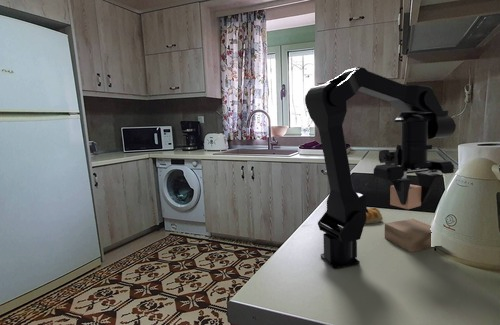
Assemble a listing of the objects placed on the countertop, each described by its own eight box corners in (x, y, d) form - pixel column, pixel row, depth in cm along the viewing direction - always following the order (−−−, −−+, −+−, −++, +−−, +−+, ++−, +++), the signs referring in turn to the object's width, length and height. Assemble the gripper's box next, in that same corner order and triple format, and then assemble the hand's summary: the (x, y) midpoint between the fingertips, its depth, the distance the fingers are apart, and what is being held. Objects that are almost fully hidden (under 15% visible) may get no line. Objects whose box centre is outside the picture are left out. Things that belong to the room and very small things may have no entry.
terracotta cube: (408, 209, 72) (408, 189, 71) (390, 204, 76) (390, 185, 75) (420, 205, 74) (421, 186, 73) (402, 201, 78) (403, 183, 78)
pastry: (358, 227, 87) (358, 214, 86) (344, 220, 93) (344, 208, 93) (384, 222, 89) (384, 210, 89) (369, 215, 96) (369, 204, 95)
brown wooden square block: (410, 252, 69) (411, 235, 69) (384, 237, 78) (384, 223, 77) (441, 246, 71) (442, 230, 71) (413, 232, 80) (413, 218, 79)
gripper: (419, 136, 81) (418, 191, 83) (360, 141, 76) (360, 199, 79) (456, 138, 70) (453, 201, 72) (389, 144, 66) (389, 211, 68)
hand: (412, 203), depth 73 cm, fingers closed on terracotta cube, 5 cm apart
